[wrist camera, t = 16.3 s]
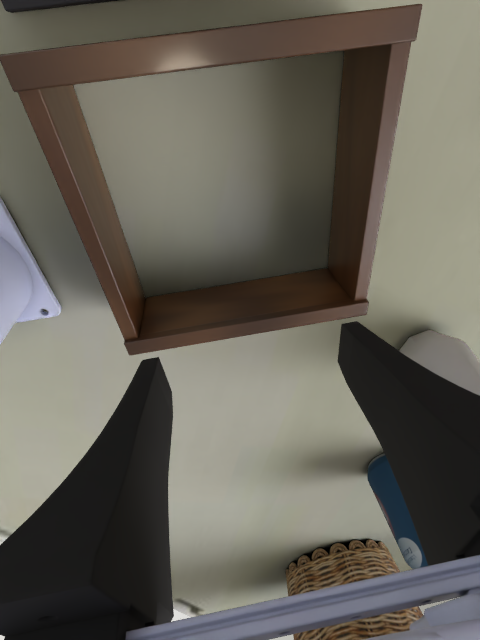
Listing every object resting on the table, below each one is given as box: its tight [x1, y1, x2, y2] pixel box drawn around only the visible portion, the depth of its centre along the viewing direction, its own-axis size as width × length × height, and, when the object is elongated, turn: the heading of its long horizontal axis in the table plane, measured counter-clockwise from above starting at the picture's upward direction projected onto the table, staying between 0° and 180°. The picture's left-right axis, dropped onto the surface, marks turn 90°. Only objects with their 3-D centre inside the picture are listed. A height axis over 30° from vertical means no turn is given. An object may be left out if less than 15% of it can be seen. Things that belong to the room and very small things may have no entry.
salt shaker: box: [399, 330, 480, 395], centre depth 24 cm, size 6×6×13 cm
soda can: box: [368, 453, 428, 569], centre depth 38 cm, size 7×7×12 cm
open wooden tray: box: [0, 4, 422, 355], centre depth 17 cm, size 15×14×5 cm
